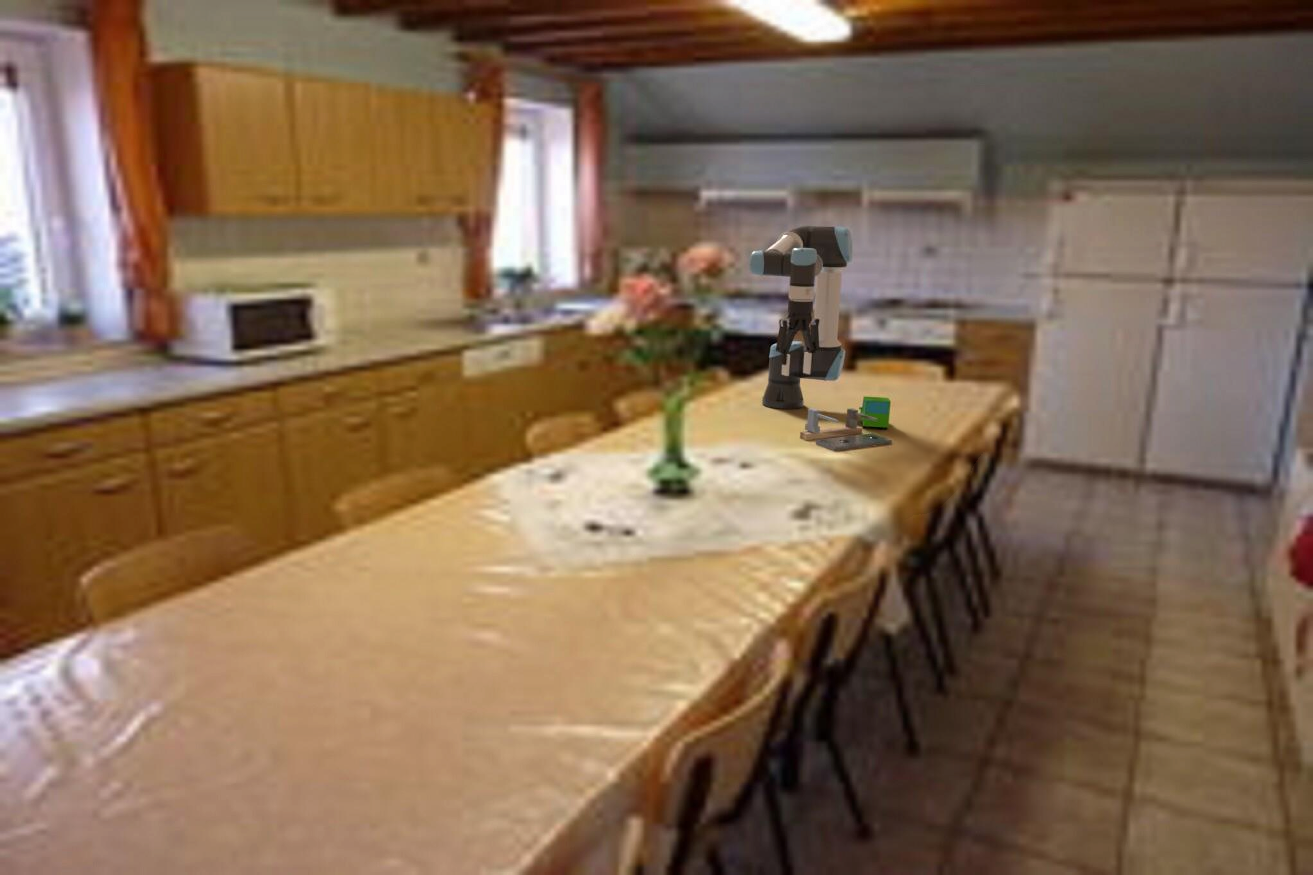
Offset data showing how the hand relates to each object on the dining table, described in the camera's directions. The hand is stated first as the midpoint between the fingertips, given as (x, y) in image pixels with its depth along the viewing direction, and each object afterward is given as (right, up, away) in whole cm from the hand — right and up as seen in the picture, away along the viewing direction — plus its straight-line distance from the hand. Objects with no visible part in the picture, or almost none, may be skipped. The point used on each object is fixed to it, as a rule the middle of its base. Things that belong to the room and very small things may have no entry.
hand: (795, 374), depth 291 cm
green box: (+31, -16, +29) cm, 45 cm away
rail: (+16, -20, +9) cm, 27 cm away
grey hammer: (+9, -19, +5) cm, 21 cm away
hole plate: (+19, -22, +4) cm, 29 cm away
